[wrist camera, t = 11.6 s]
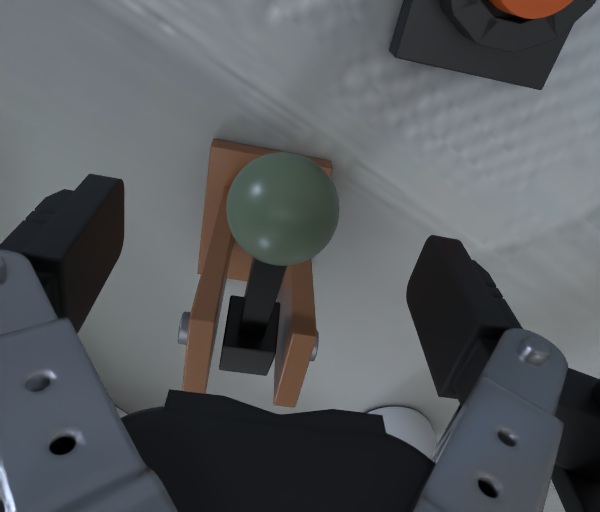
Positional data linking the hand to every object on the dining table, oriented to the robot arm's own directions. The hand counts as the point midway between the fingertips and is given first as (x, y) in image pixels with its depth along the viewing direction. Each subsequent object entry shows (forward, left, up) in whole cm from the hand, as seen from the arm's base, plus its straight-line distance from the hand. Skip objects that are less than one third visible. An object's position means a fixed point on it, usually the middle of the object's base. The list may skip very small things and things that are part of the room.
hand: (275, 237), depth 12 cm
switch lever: (+3, 0, -4) cm, 5 cm away
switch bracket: (+8, 0, -16) cm, 18 cm away
